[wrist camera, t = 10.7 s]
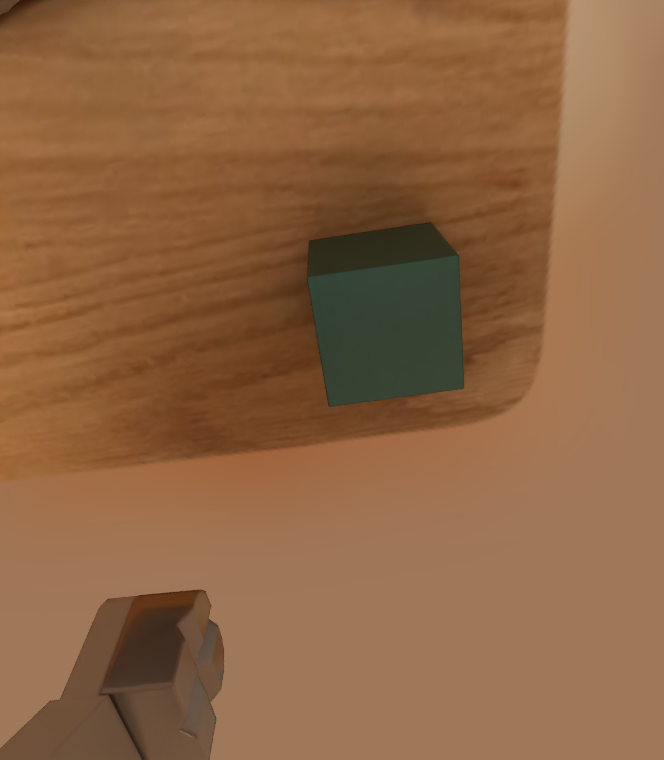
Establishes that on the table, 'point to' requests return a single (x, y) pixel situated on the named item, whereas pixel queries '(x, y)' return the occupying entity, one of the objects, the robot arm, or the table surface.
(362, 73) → the table surface
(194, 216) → the table surface
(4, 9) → the incense holder
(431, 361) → the block
